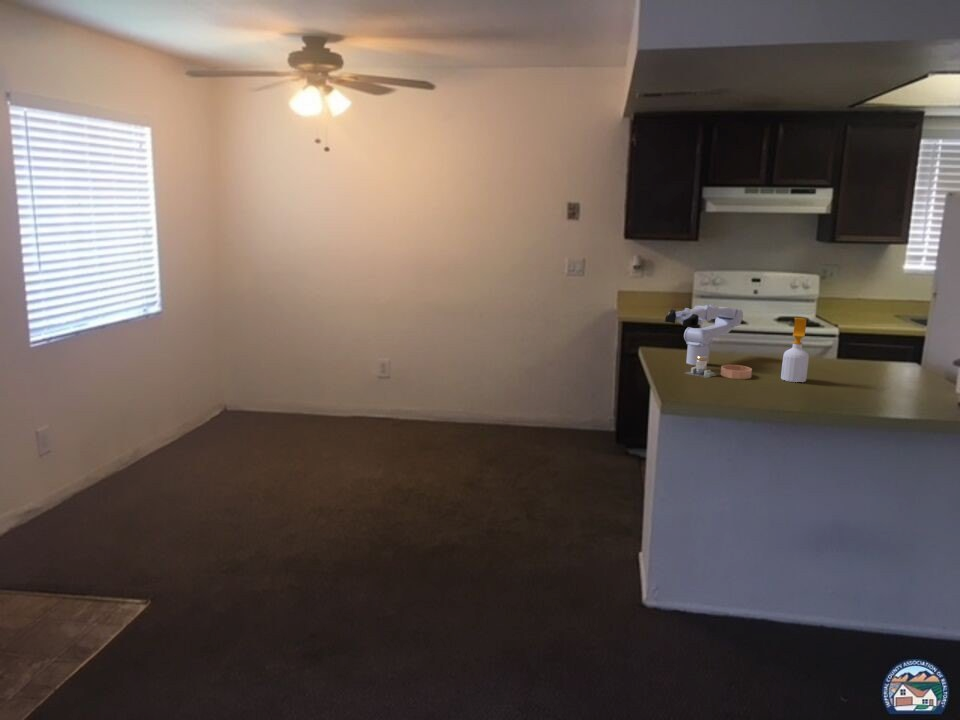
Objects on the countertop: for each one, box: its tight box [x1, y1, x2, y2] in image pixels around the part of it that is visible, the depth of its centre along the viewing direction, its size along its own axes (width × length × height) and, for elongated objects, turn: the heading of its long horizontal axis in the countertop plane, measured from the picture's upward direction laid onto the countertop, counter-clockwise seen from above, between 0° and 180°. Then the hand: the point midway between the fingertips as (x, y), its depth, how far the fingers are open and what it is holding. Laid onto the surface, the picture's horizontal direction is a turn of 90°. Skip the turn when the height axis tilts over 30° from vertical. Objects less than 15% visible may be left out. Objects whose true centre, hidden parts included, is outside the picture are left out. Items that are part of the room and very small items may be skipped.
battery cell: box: [695, 355, 708, 375], centre depth 282 cm, size 4×4×7 cm
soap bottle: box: [780, 317, 810, 383], centre depth 278 cm, size 9×9×25 cm
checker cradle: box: [684, 366, 717, 379], centre depth 283 cm, size 8×10×3 cm
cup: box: [720, 364, 753, 380], centre depth 281 cm, size 11×11×4 cm
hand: (674, 321), depth 284 cm, fingers open, 7 cm apart
